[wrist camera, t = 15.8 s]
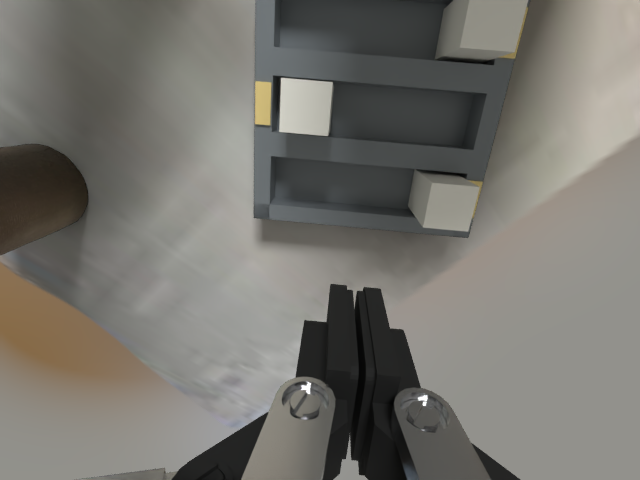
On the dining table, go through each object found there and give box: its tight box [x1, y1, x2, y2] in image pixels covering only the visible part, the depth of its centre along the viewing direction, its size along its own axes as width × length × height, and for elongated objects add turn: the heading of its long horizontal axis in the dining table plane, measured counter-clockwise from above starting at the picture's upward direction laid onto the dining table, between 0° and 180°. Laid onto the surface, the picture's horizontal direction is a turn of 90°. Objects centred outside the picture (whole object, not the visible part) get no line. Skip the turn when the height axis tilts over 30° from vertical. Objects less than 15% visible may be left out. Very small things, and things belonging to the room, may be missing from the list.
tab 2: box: [435, 0, 528, 64], centre depth 27 cm, size 4×4×7 cm
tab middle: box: [279, 78, 334, 136], centre depth 30 cm, size 4×4×7 cm
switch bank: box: [254, 0, 530, 238], centre depth 32 cm, size 22×22×4 cm
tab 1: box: [408, 169, 480, 232], centre depth 32 cm, size 4×4×7 cm
